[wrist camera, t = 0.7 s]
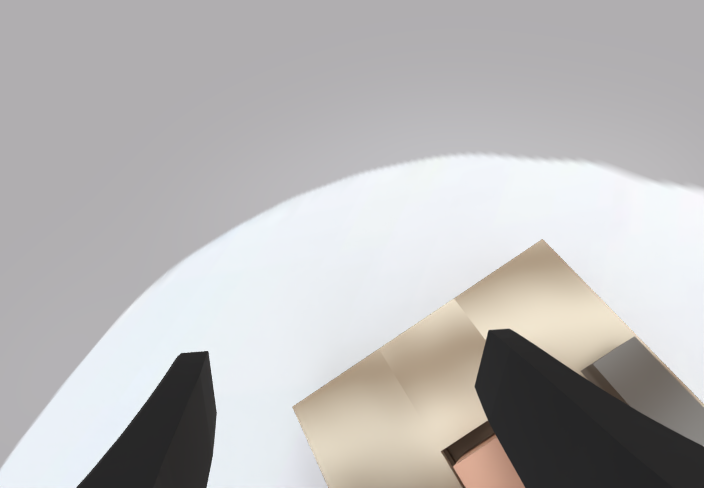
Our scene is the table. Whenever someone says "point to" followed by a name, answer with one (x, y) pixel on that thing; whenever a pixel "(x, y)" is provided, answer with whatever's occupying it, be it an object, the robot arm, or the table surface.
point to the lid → (461, 372)
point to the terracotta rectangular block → (487, 466)
